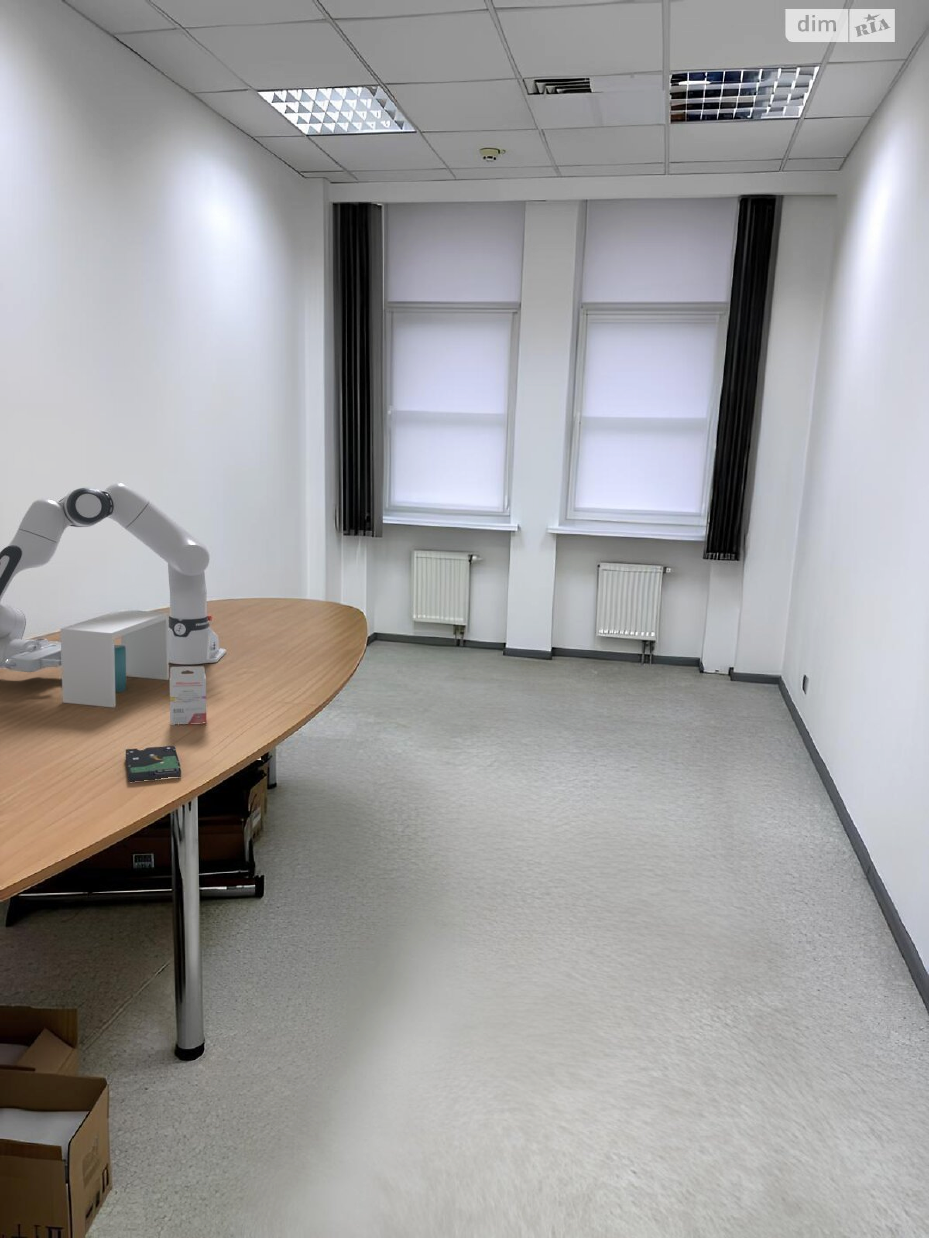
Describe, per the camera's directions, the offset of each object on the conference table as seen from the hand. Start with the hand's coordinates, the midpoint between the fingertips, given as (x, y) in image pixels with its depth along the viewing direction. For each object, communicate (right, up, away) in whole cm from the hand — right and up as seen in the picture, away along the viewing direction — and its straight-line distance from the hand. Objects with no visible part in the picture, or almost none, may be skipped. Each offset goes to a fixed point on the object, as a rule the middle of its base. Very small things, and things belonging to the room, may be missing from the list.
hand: (70, 659), depth 237 cm
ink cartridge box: (+40, -15, -24) cm, 49 cm away
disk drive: (+43, -21, -55) cm, 73 cm away
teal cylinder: (+13, -8, 0) cm, 15 cm away
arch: (+14, -8, 0) cm, 16 cm away
